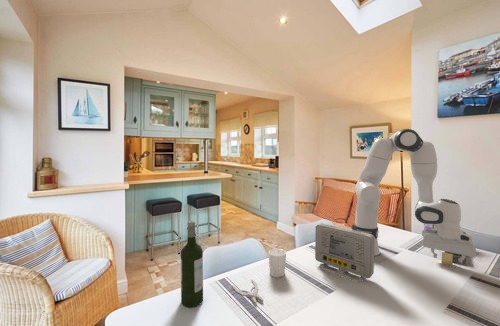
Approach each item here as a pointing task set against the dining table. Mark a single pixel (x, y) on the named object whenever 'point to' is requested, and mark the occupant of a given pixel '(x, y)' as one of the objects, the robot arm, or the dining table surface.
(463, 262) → the grey cube holder tray
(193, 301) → the wine bottle
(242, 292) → the pliers
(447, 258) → the tan wooden toy cube
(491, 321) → the dining table surface
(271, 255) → the white cup
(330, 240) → the network device
